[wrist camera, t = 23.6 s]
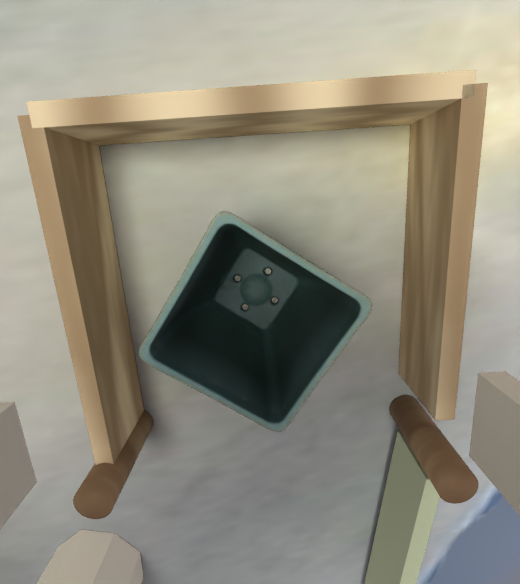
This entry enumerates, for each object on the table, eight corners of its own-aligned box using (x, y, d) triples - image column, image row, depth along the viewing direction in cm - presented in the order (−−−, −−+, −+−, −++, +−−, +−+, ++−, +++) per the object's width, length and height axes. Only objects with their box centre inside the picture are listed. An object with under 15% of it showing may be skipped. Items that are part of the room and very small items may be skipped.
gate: (392, 430, 28) (433, 502, 21) (417, 431, 28) (465, 504, 21) (357, 593, 32) (382, 694, 26) (378, 595, 32) (408, 695, 26)
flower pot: (235, 203, 24) (219, 205, 15) (338, 268, 25) (378, 304, 17) (176, 305, 26) (133, 358, 17) (274, 361, 27) (280, 437, 19)
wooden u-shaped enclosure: (126, 434, 29) (77, 519, 21) (68, 127, 23) (-31, 91, 15) (418, 420, 28) (476, 502, 21) (439, 102, 22) (533, 50, 15)
